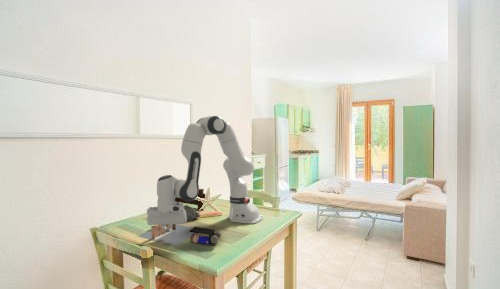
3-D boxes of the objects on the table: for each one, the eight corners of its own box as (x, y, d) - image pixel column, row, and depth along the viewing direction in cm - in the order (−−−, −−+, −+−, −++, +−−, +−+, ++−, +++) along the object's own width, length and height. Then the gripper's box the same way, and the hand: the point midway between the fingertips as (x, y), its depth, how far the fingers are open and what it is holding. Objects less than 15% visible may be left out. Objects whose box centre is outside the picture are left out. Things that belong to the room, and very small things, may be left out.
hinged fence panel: (170, 229, 144) (170, 218, 143) (173, 230, 143) (172, 219, 143) (151, 238, 133) (150, 226, 132) (153, 238, 132) (152, 227, 131)
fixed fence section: (176, 229, 145) (176, 217, 145) (174, 230, 143) (173, 218, 143) (160, 226, 151) (160, 214, 150) (158, 227, 149) (157, 215, 149)
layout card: (203, 230, 143) (203, 229, 143) (176, 246, 124) (176, 245, 124) (167, 223, 156) (167, 222, 156) (137, 236, 137) (137, 235, 137)
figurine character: (220, 244, 129) (193, 238, 132) (222, 229, 128) (194, 224, 131) (216, 250, 122) (187, 244, 125) (217, 235, 121) (188, 229, 125)
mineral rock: (201, 219, 163) (200, 203, 162) (190, 224, 153) (189, 208, 153) (186, 216, 169) (185, 201, 168) (174, 221, 159) (173, 206, 158)
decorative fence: (206, 208, 184) (205, 188, 183) (201, 211, 179) (200, 190, 178) (172, 203, 199) (171, 185, 198) (166, 205, 194) (165, 186, 193)
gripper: (144, 208, 129) (145, 235, 130) (184, 207, 130) (185, 233, 130) (148, 205, 135) (150, 230, 136) (186, 204, 136) (188, 229, 137)
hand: (167, 232), depth 133 cm, fingers closed
